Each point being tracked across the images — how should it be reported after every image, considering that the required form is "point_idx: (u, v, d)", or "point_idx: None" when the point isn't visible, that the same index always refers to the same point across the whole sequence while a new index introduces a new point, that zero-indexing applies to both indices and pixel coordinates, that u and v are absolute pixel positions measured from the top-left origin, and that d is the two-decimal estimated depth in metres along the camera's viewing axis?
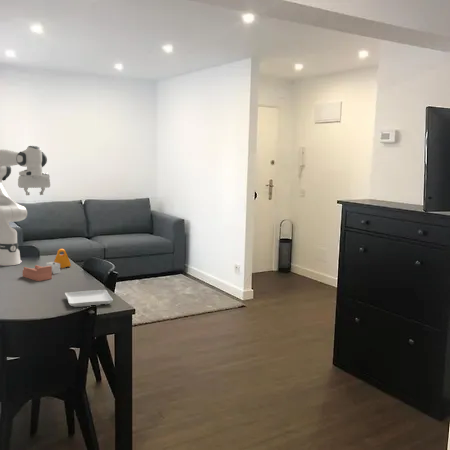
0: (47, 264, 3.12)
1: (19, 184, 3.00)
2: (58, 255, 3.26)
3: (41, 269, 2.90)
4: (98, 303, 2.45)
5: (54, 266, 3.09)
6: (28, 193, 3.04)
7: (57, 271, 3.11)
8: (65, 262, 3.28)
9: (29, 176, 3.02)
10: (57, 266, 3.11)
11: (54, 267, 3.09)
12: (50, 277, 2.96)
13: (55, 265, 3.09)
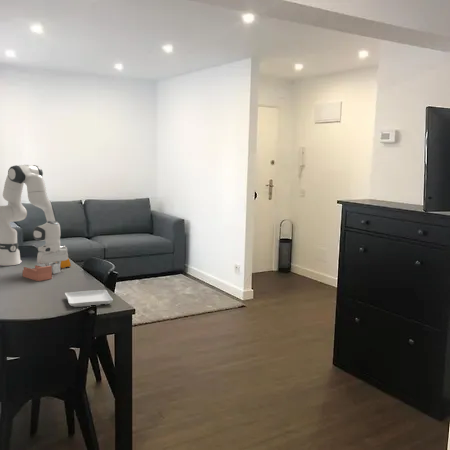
0: None
1: (38, 260, 3.04)
2: None
3: (41, 269, 2.90)
4: (98, 303, 2.45)
5: (54, 266, 3.09)
6: None
7: (57, 271, 3.11)
8: (65, 262, 3.28)
9: (48, 252, 3.06)
10: (57, 266, 3.11)
11: (54, 267, 3.09)
12: (50, 277, 2.96)
13: (55, 265, 3.09)
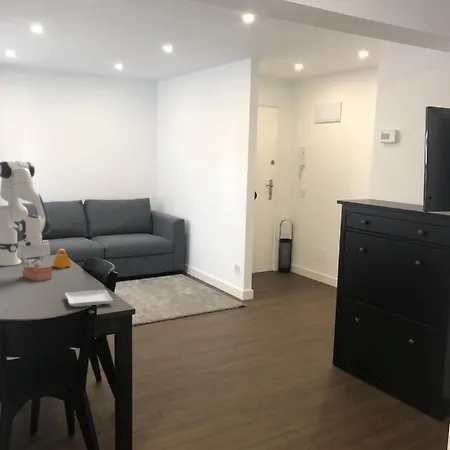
0: (28, 261, 2.98)
1: (18, 255, 2.90)
2: (58, 255, 3.26)
3: (41, 269, 2.90)
4: (98, 303, 2.45)
5: (35, 263, 2.95)
6: (27, 263, 2.94)
7: None
8: (65, 262, 3.28)
9: (28, 246, 2.91)
10: (38, 263, 2.97)
11: (35, 264, 2.95)
12: (50, 277, 2.96)
13: (36, 262, 2.95)
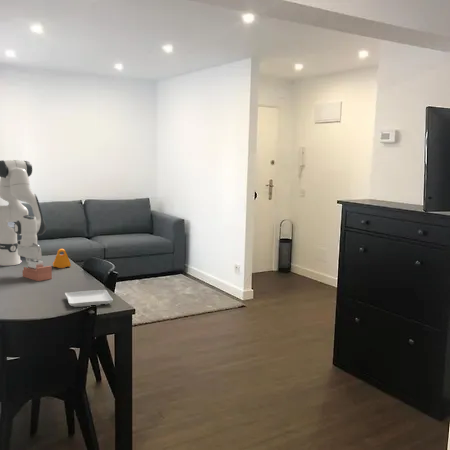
0: (29, 262, 2.96)
1: None
2: (58, 255, 3.26)
3: (41, 269, 2.90)
4: (98, 303, 2.45)
5: (37, 264, 2.93)
6: (27, 263, 3.01)
7: None
8: (65, 262, 3.28)
9: (20, 245, 3.01)
10: (40, 264, 2.95)
11: (37, 265, 2.94)
12: (50, 277, 2.96)
13: (38, 263, 2.94)
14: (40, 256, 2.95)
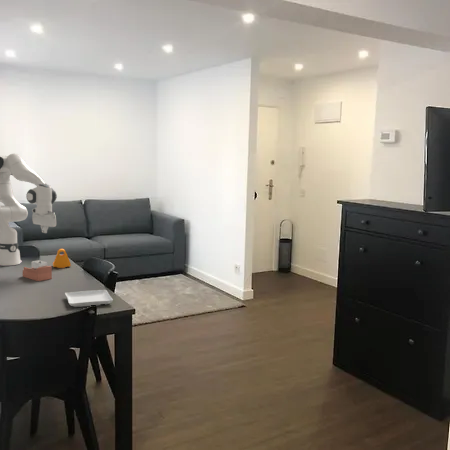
0: (33, 263, 2.94)
1: None
2: (58, 255, 3.26)
3: (41, 269, 2.90)
4: (98, 303, 2.45)
5: (40, 265, 2.91)
6: (42, 230, 3.08)
7: None
8: (65, 262, 3.28)
9: (35, 213, 3.08)
10: (43, 265, 2.93)
11: (40, 266, 2.92)
12: (50, 277, 2.96)
13: (41, 264, 2.92)
14: (55, 223, 3.03)
